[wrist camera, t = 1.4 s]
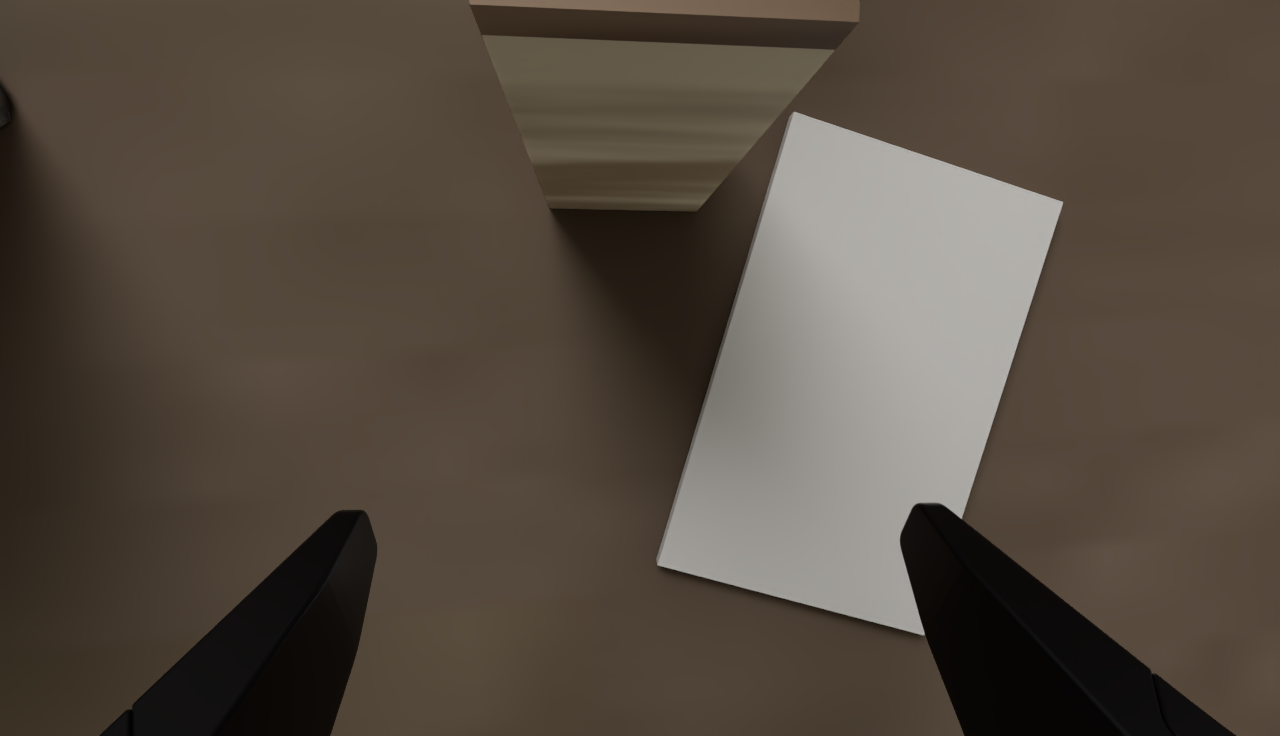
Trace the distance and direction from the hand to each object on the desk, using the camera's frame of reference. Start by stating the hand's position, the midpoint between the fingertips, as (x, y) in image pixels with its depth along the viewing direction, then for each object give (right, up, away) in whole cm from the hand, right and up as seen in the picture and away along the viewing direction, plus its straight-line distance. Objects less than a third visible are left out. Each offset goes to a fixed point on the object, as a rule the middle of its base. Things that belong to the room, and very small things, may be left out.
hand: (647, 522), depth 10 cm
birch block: (-1, +10, +11) cm, 14 cm away
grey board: (+8, +2, +12) cm, 14 cm away
